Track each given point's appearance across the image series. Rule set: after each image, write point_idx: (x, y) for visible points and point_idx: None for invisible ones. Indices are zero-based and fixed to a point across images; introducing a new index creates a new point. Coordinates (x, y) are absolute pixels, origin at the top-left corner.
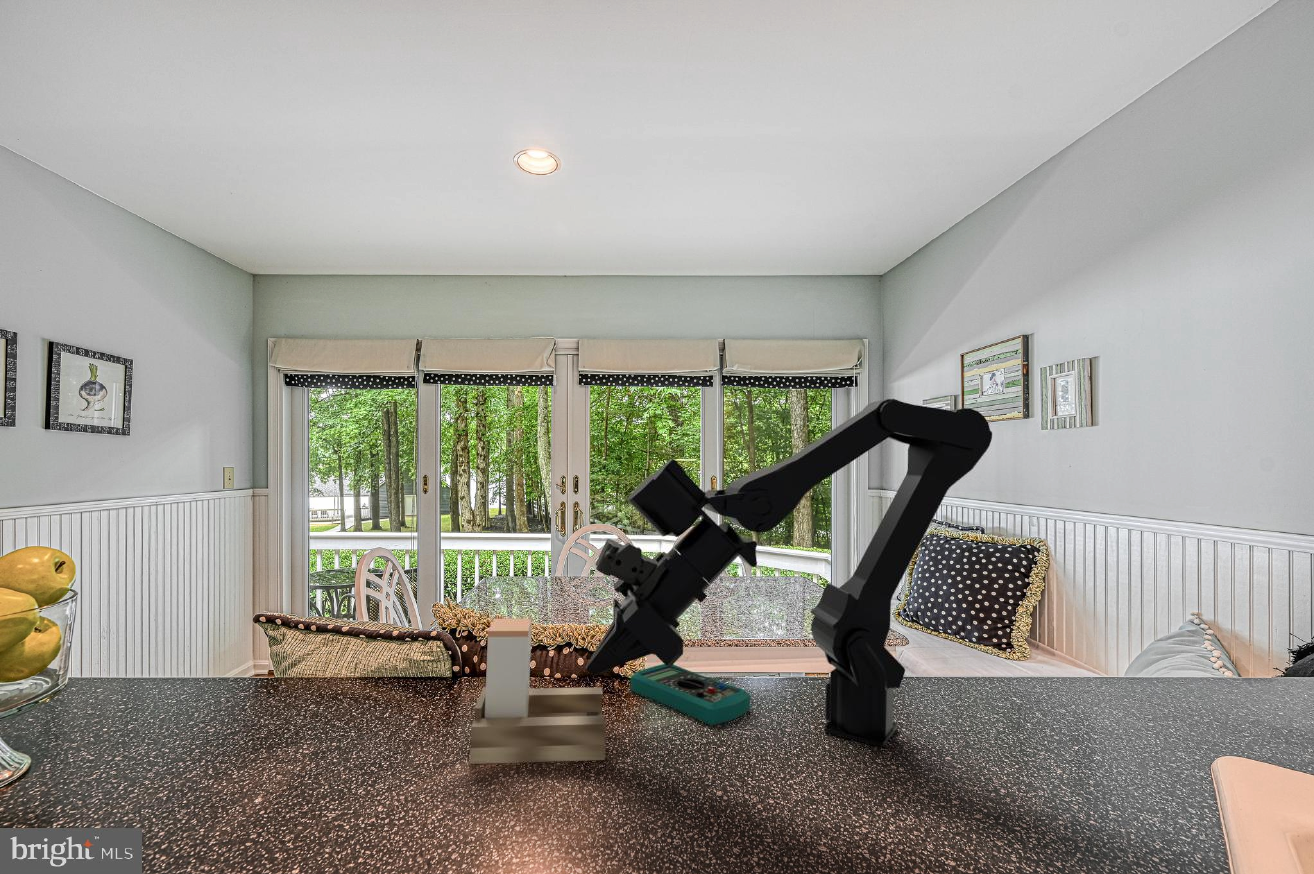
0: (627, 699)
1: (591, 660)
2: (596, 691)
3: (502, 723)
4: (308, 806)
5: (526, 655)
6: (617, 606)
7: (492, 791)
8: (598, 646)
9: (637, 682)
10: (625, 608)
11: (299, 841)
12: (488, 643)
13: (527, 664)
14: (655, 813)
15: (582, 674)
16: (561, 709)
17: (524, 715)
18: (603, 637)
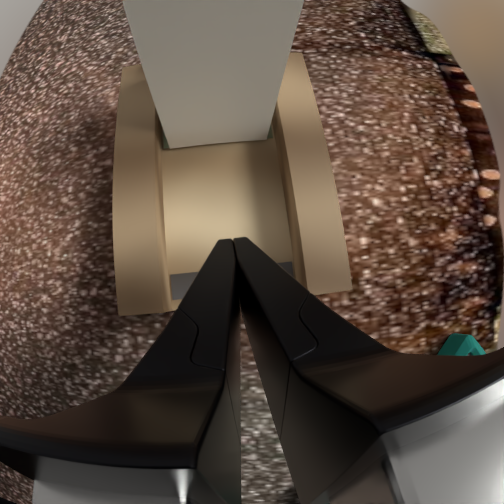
0: (417, 334)
1: (219, 253)
2: (324, 278)
3: (129, 104)
4: (81, 18)
5: (135, 41)
6: (367, 439)
7: (61, 153)
8: (275, 274)
9: (453, 351)
10: (379, 484)
11: (33, 43)
12: None
13: (159, 61)
14: (16, 377)
15: (496, 234)
16: (287, 203)
17: (164, 131)
18: (310, 295)
